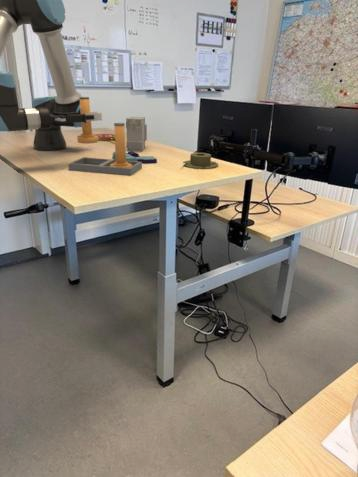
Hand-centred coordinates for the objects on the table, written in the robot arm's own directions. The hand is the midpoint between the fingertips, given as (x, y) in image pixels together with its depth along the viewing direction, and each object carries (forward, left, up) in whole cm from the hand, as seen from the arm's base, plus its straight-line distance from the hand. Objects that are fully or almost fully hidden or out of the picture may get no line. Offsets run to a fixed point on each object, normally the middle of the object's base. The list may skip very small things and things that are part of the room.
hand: (99, 115), depth 141 cm
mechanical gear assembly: (-19, +50, -19) cm, 57 cm away
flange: (+40, +8, -19) cm, 45 cm away
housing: (+9, -16, -18) cm, 25 cm away
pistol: (+14, +2, -19) cm, 24 cm away
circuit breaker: (+4, +32, -18) cm, 38 cm away
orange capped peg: (+15, -16, -17) cm, 27 cm away
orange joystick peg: (-4, -4, -10) cm, 11 cm away
